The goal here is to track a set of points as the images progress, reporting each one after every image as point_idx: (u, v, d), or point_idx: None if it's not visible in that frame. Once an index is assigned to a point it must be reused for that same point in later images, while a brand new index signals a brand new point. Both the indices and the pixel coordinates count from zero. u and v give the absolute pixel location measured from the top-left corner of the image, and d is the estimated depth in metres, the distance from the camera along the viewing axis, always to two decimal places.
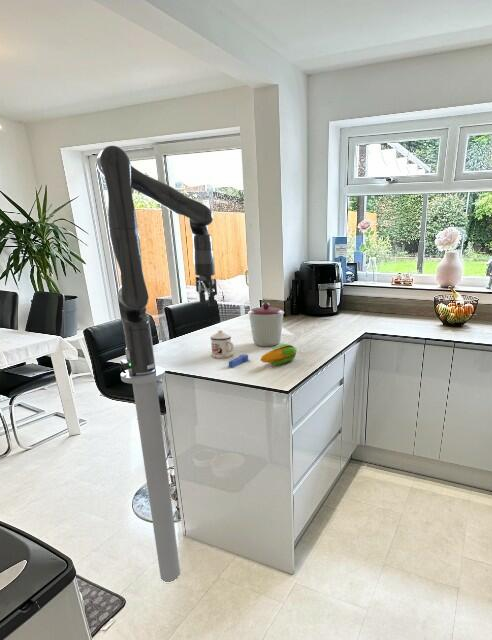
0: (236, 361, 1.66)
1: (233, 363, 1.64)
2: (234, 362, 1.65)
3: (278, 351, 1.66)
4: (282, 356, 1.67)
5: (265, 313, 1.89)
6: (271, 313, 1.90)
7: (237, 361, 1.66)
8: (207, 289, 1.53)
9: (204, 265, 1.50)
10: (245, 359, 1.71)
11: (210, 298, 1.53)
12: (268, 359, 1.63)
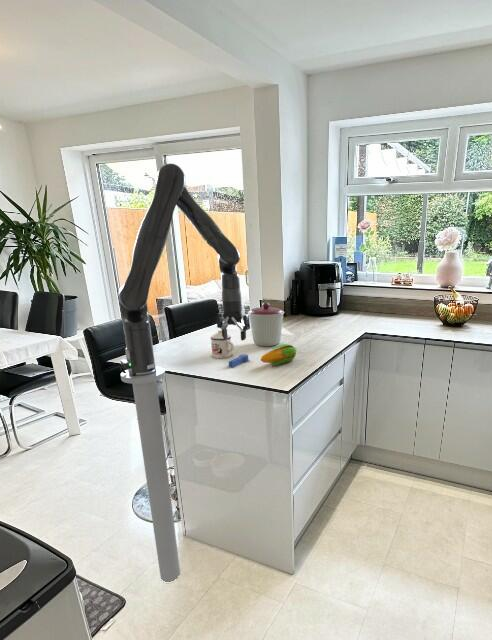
0: (236, 361, 1.66)
1: (233, 363, 1.64)
2: (234, 362, 1.65)
3: (278, 351, 1.66)
4: (282, 356, 1.67)
5: (265, 313, 1.89)
6: (271, 313, 1.90)
7: (237, 361, 1.66)
8: (240, 325, 1.59)
9: (237, 302, 1.56)
10: (245, 359, 1.71)
11: (243, 333, 1.60)
12: (268, 359, 1.63)
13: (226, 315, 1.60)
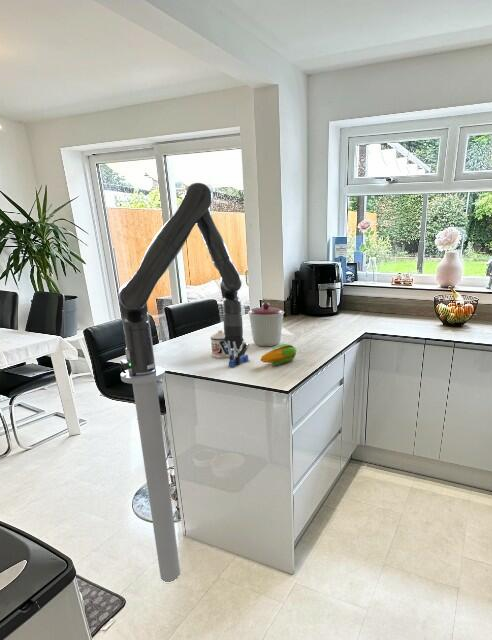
0: None
1: (233, 363, 1.64)
2: (234, 362, 1.65)
3: (278, 351, 1.66)
4: (282, 356, 1.67)
5: (265, 313, 1.89)
6: (271, 313, 1.90)
7: None
8: None
9: (238, 327, 1.59)
10: (245, 359, 1.71)
11: (237, 358, 1.65)
12: (268, 359, 1.63)
13: (227, 339, 1.63)
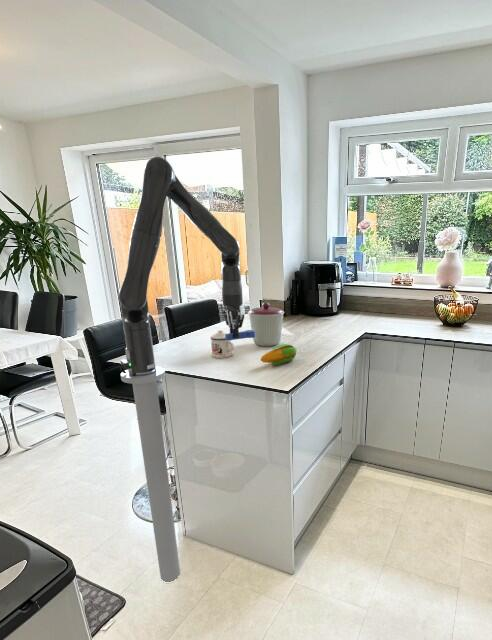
0: None
1: (229, 336, 1.53)
2: (231, 335, 1.54)
3: (278, 351, 1.66)
4: (282, 356, 1.67)
5: (265, 313, 1.89)
6: (271, 313, 1.90)
7: None
8: (235, 320, 1.50)
9: (233, 296, 1.47)
10: (248, 334, 1.58)
11: (234, 330, 1.53)
12: (268, 359, 1.63)
13: (227, 309, 1.53)
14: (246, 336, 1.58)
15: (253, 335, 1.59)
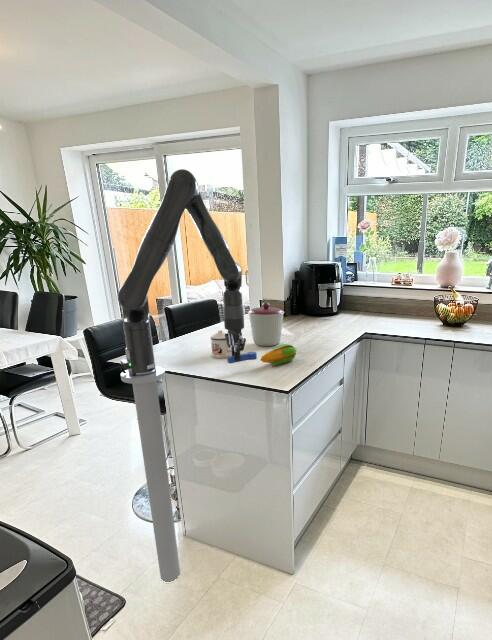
0: None
1: (231, 359, 1.55)
2: (233, 358, 1.55)
3: (278, 351, 1.66)
4: (282, 356, 1.67)
5: (265, 313, 1.89)
6: (271, 313, 1.90)
7: None
8: (237, 343, 1.51)
9: (234, 320, 1.48)
10: (250, 356, 1.59)
11: (236, 353, 1.54)
12: (268, 359, 1.63)
13: (229, 332, 1.54)
14: (248, 358, 1.59)
15: (255, 357, 1.60)
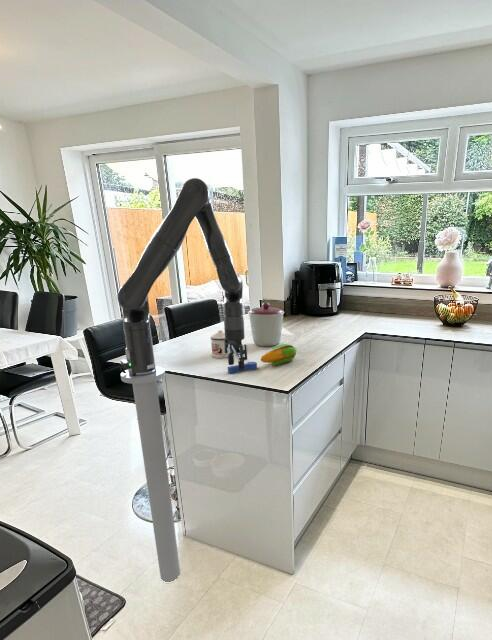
0: (237, 368, 1.57)
1: (231, 369, 1.56)
2: (233, 368, 1.56)
3: (278, 351, 1.66)
4: (282, 356, 1.67)
5: (265, 313, 1.89)
6: (271, 313, 1.90)
7: None
8: (237, 354, 1.52)
9: (235, 331, 1.49)
10: (251, 366, 1.60)
11: (240, 363, 1.53)
12: (268, 359, 1.63)
13: (229, 342, 1.56)
14: (248, 368, 1.61)
15: (255, 367, 1.61)
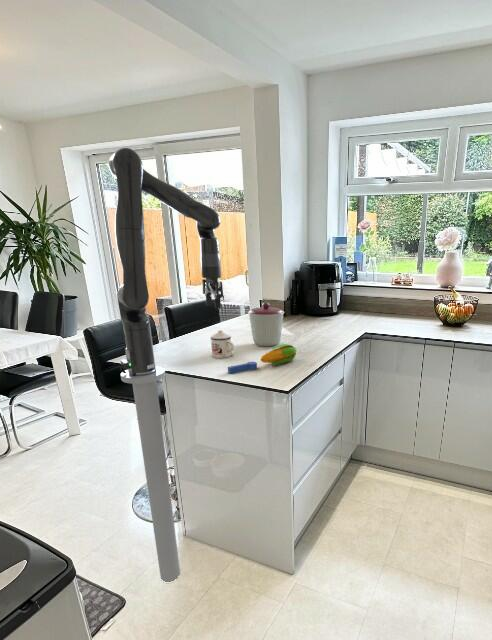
0: (237, 368, 1.57)
1: (231, 369, 1.56)
2: (233, 368, 1.56)
3: (278, 351, 1.66)
4: (282, 356, 1.67)
5: (265, 313, 1.89)
6: (271, 313, 1.90)
7: (238, 367, 1.57)
8: (213, 291, 1.55)
9: (211, 268, 1.53)
10: (251, 366, 1.60)
11: (216, 300, 1.56)
12: (268, 359, 1.63)
13: (207, 281, 1.59)
14: (248, 368, 1.61)
15: (255, 367, 1.61)
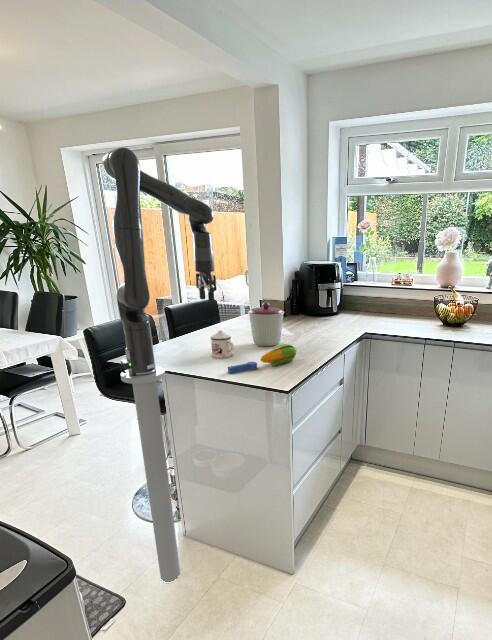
0: (237, 368, 1.57)
1: (231, 369, 1.56)
2: (233, 368, 1.56)
3: (278, 351, 1.66)
4: (282, 356, 1.67)
5: (265, 313, 1.89)
6: (271, 313, 1.90)
7: (238, 367, 1.57)
8: (207, 285, 1.58)
9: (204, 262, 1.56)
10: (251, 366, 1.60)
11: (210, 294, 1.59)
12: (268, 359, 1.63)
13: (200, 275, 1.62)
14: (248, 368, 1.61)
15: (255, 367, 1.61)
